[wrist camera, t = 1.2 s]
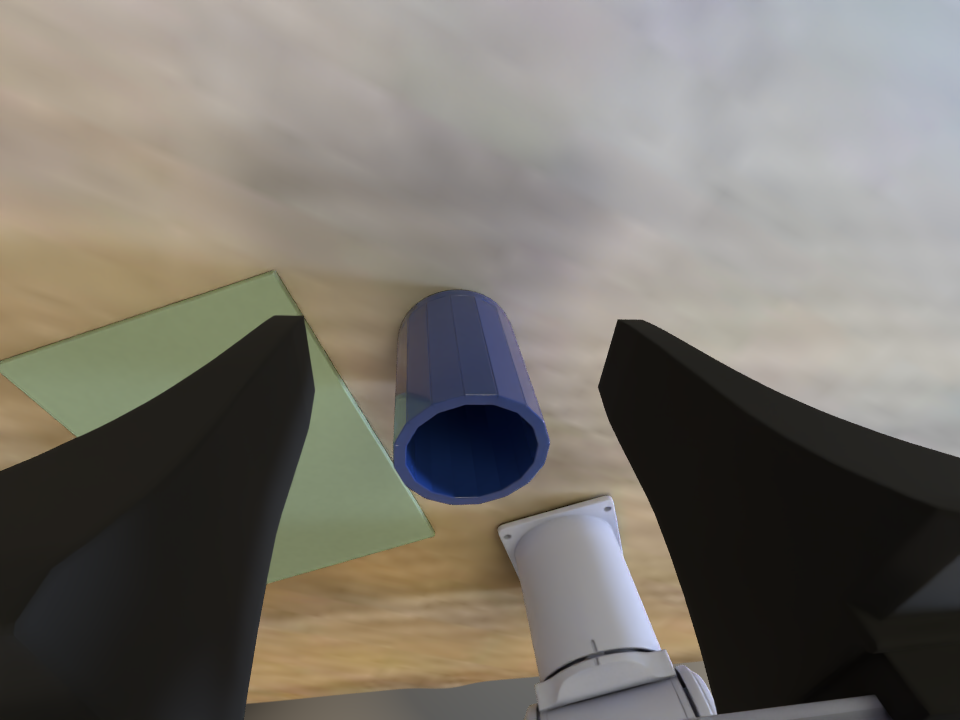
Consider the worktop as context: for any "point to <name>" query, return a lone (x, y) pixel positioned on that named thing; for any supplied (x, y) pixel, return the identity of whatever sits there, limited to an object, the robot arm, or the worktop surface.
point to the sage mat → (189, 346)
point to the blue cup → (464, 403)
